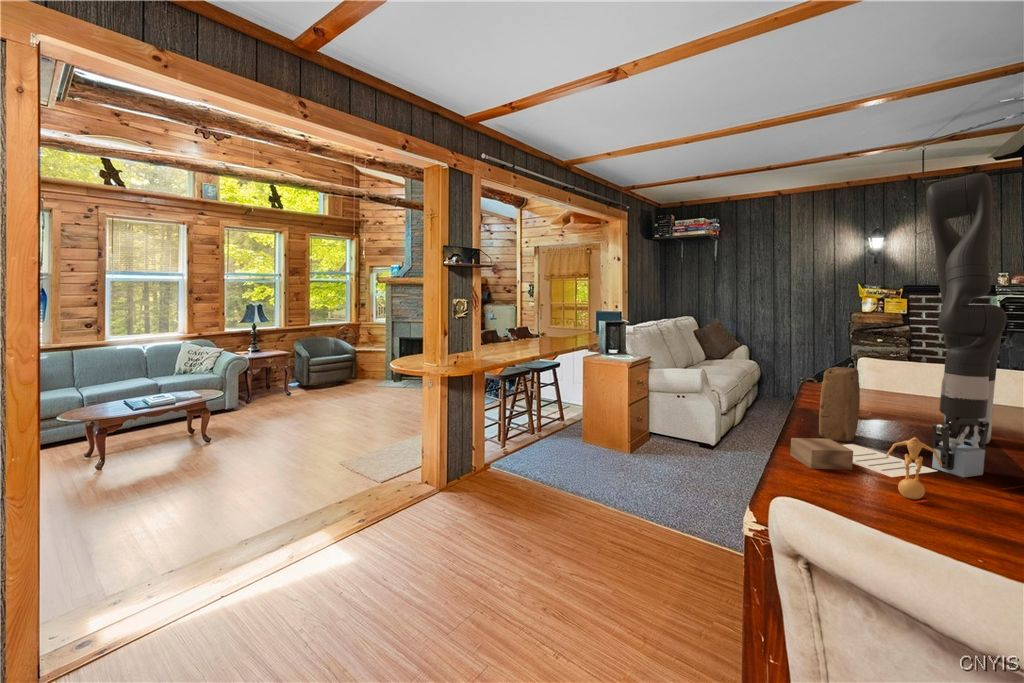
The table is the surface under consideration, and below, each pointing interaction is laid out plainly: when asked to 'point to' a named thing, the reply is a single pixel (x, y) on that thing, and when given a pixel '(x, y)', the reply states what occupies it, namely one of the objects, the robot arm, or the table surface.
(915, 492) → the figurine
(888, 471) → the letter
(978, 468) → the slate cube
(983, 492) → the table surface
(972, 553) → the table surface
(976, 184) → the robot arm
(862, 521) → the table surface
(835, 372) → the block
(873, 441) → the table surface
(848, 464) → the walnut block
